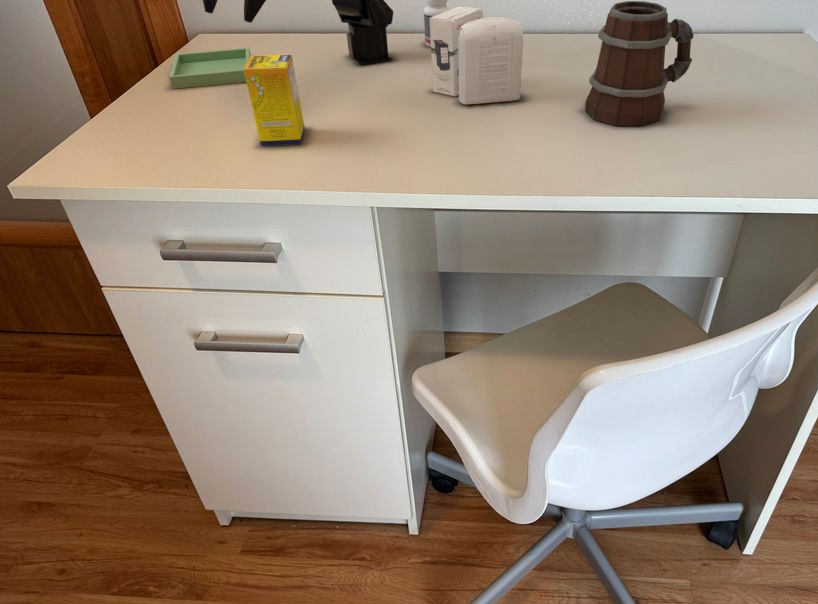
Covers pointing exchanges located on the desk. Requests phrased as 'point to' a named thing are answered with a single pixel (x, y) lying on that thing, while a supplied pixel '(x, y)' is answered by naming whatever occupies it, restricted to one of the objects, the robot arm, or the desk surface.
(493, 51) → the white rounded box
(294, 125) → the supplement box
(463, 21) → the ink box
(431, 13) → the pill bottle
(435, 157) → the desk surface
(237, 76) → the green tray
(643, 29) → the mug
